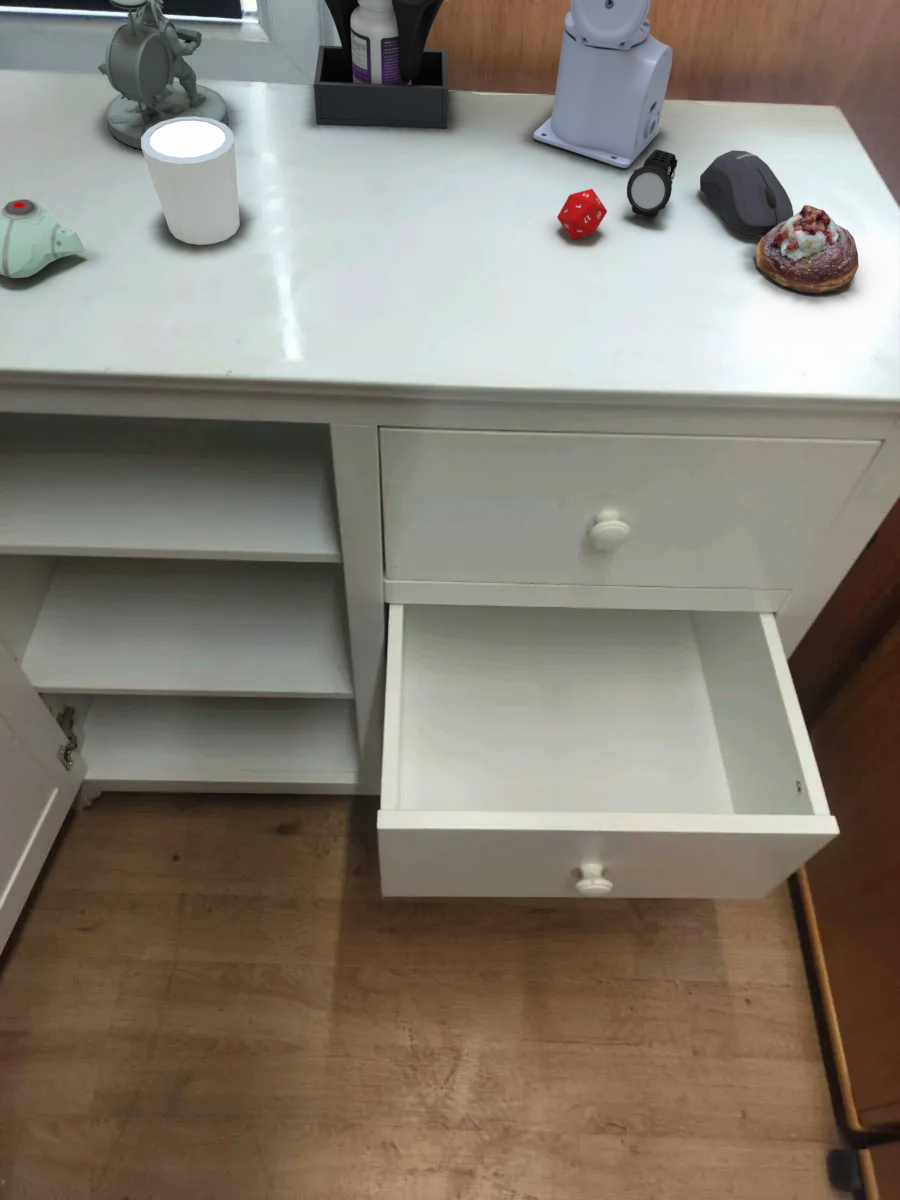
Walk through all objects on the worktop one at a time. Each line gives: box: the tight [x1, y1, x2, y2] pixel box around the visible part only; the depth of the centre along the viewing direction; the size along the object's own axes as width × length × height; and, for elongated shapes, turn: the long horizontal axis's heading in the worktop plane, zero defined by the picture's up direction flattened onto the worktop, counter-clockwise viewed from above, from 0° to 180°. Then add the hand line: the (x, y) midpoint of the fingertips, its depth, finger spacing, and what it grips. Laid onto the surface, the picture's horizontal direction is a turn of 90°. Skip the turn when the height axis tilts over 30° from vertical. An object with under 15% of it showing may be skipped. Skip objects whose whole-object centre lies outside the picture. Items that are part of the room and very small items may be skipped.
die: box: [556, 188, 608, 240], centre depth 72 cm, size 4×4×4 cm
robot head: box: [0, 198, 87, 279], centre depth 66 cm, size 8×4×7 cm
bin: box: [313, 45, 449, 129], centre depth 82 cm, size 12×8×4 cm, turn 91°
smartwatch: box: [626, 148, 678, 220], centre depth 73 cm, size 4×5×5 cm
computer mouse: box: [699, 149, 795, 235], centre depth 74 cm, size 6×9×4 cm, turn 22°
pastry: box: [754, 204, 859, 294], centre depth 69 cm, size 8×8×5 cm
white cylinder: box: [141, 116, 241, 246], centre depth 69 cm, size 7×7×7 cm
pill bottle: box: [350, 0, 411, 85], centre depth 79 cm, size 5×5×10 cm
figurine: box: [97, 0, 229, 150], centre depth 76 cm, size 11×11×12 cm
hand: (381, 67), depth 81 cm, fingers closed on pill bottle, 5 cm apart
